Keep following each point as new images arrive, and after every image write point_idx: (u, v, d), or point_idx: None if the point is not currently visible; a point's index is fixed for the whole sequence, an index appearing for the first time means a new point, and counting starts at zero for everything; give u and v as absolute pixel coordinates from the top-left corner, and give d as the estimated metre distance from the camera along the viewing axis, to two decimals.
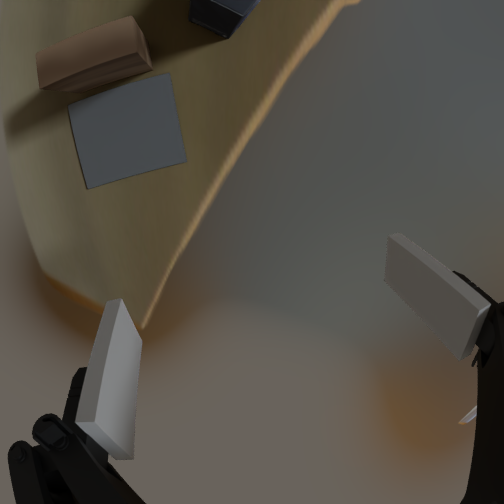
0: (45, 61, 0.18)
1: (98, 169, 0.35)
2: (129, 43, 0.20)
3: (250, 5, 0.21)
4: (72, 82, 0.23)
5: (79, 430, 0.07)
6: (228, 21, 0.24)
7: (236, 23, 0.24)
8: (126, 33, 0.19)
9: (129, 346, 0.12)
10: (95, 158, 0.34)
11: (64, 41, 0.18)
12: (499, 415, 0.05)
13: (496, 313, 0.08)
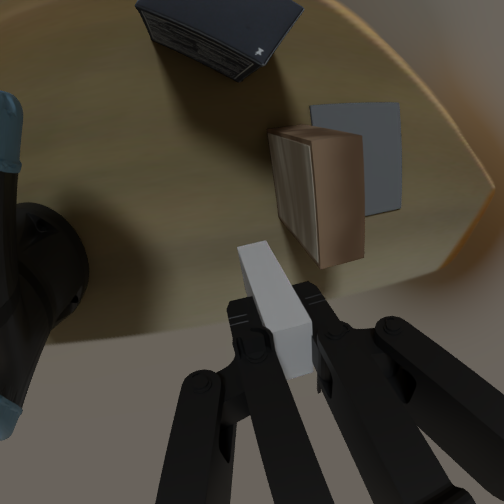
0: (336, 253, 0.23)
1: (389, 193, 0.35)
2: (349, 144, 0.19)
3: None
4: None
5: None
6: None
7: None
8: (336, 147, 0.19)
9: None
10: (379, 195, 0.35)
11: (321, 231, 0.22)
12: (373, 457, 0.06)
13: (320, 342, 0.09)
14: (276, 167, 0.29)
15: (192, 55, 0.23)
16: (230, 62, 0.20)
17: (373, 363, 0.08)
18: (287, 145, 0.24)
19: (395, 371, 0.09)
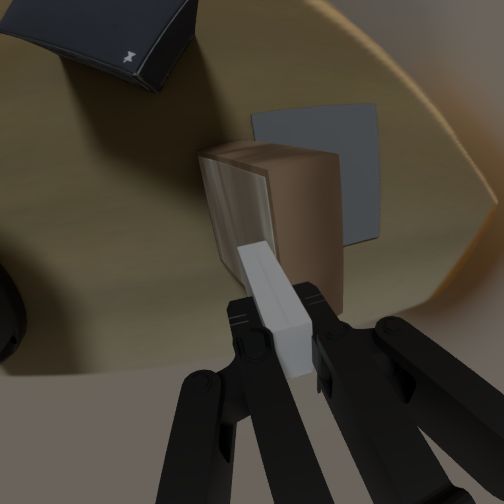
0: None
1: (363, 220, 0.29)
2: (323, 168, 0.14)
3: None
4: None
5: None
6: (190, 17, 0.13)
7: (197, 4, 0.12)
8: (304, 176, 0.13)
9: None
10: (350, 223, 0.29)
11: None
12: (373, 457, 0.06)
13: (320, 342, 0.09)
14: (212, 200, 0.23)
15: (96, 68, 0.17)
16: (119, 74, 0.14)
17: (373, 363, 0.08)
18: (227, 173, 0.17)
19: (395, 371, 0.09)
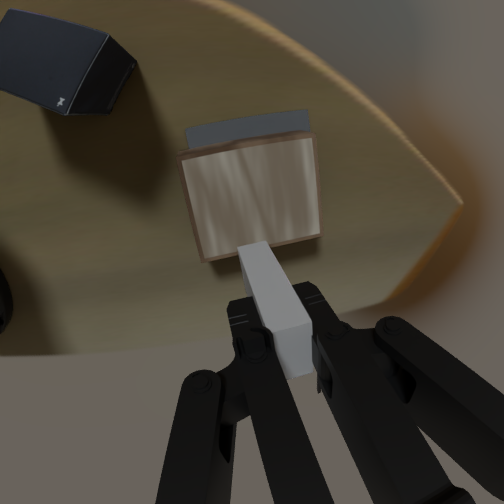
0: None
1: None
2: None
3: (91, 29, 0.13)
4: None
5: None
6: (115, 57, 0.17)
7: (118, 46, 0.16)
8: None
9: None
10: None
11: None
12: (373, 457, 0.06)
13: (320, 342, 0.09)
14: (209, 195, 0.25)
15: None
16: None
17: (373, 363, 0.08)
18: (257, 152, 0.24)
19: (395, 371, 0.09)
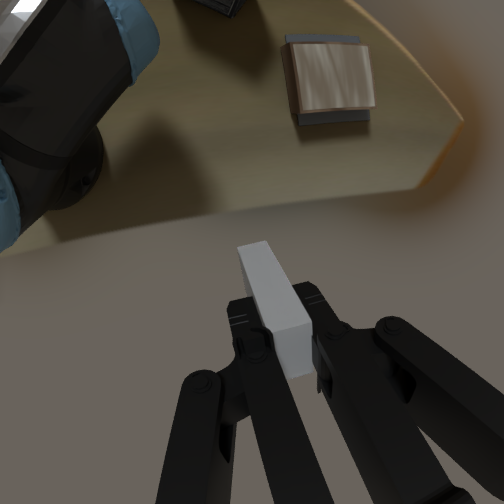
0: None
1: None
2: None
3: None
4: None
5: None
6: None
7: None
8: None
9: None
10: None
11: None
12: (373, 457, 0.06)
13: (320, 342, 0.09)
14: (309, 67, 0.33)
15: None
16: None
17: (373, 363, 0.08)
18: (337, 48, 0.32)
19: (395, 371, 0.09)
